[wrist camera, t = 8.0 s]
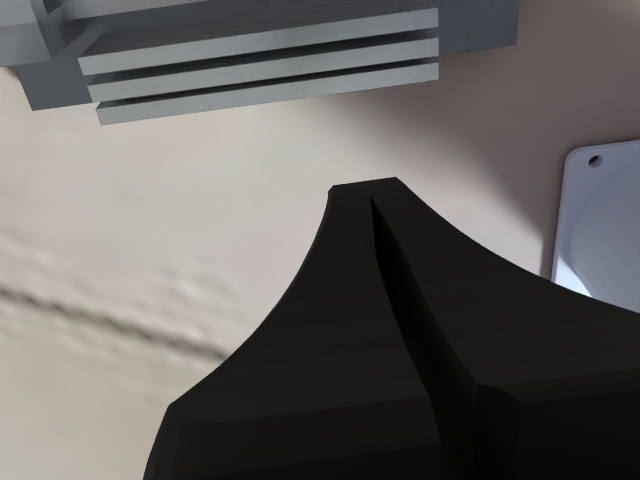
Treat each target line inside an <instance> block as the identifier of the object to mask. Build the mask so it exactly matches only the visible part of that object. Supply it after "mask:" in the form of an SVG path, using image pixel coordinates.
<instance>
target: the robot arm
mask: <svg viewBox="0 0 640 480" xmlns="http://www.w3.org/2000/svg"><path fill="white" fill-rule="evenodd" d="M596 155H598V158H597V160H596V161H595V162H593V163H590V164H589V163H588V162H589V160H590V159H591V158H592V157H593V156H596ZM143 480H640V140H634V141H626V142H619V143H611V144H604V145H596V146H588V147H581V148H577V149H574V150H573V151H571V152H570V153H569V154H568V156H567V157H566V160H565V168H564V176H563V184H562V193H561V201H560V209H559V218H558V226H557V234H556V243H555V251H554V259H553V268H552V276H551V281H549V280H547V279H544V278H542V277H540V276H538V275H535V274H533V273H531V272H529V271H527V270H525V269H523V268H521V267H519V266H517V265H515V264H513V263H512V262H510V261H508V260H506V259H504V258H502V257H501V256H499V255H497V254H495V253H493V252H492V251H490V250H488V249H487V248H485V247H483V246H482V245H480V244H479V243H477V242H476V241H474V240H473V239H471V238H470V237H468V236H467V235H465V234H464V233H462V232H461V231H459V230H458V229H457V228H455V227H454V226H453V225H452V224H450V223H449V222H448V221H446V220H445V219H444V218H443V217H441V216H440V215H439V214H438V213H436V212H435V211H434V210H433V209H432V208H430V207H429V206H428V205H427V204H426V203H425V202H424V201H422V200H421V199H420V198H419V197H418V196H417V195H416V194H415V193H414V192H412V191H411V190H410V189H409V188H408V187H407V186H406V185H405V184H404V183H403V182H402V181H400V180H399V179H398V178H397V177H391V178H384V179H377V180H369V181H362V182H355V183H348V184H340V185H333V186H332V188H331V189H330V190H329V191H328V200H327V205H326V209H325V212H324V215H323V218H322V221H321V224H320V226H319V229H318V231H317V234H316V236H315V239H314V241H313V244H312V246H311V248H310V250H309V252H308V254H307V256H306V257H305V259H304V261H303V263H302V265H301V267H300V269H299V271H298V273H297V274H296V276H295V278H294V279H293V281H292V282H291V284H290V286H289V287H288V289H287V290H286V292H285V293H284V294H283V296H282V297H281V299H280V300H279V302H278V303H277V304H276V306H275V307H274V308H273V309H272V311H271V312H270V313H269V314H268V316H267V317H266V318H265V320H264V321H263V322H262V323H261V324H260V326H259V327H258V328H257V329H256V330H255V331H254V332H253V334H252V335H251V336H250V337H249V338H248V339H247V340H246V341H245V342H244V343H243V344H242V345H241V346H240V347H239V348H238V349H237V350H236V351H235V352H234V353H233V354H232V355H231V356H230V357H229V358H228V359H227V360H225V361H224V362H223V363H222V364H221V365H220V366H219V367H217V368H216V369H215V370H214V371H213V372H211V373H210V374H209V375H208V376H206V377H205V378H204V379H203V380H201V381H200V382H199V383H197V384H196V385H195V386H194V387H192V388H191V389H190V390H188V391H187V392H186V393H185V394H183V395H182V396H181V397H179V398H178V399H177V400H175V401H174V402H172V403H171V404H170V405H169V406H168V408H167V410H166V412H165V415H164V417H163V420H162V423H161V425H160V428H159V430H158V433H157V436H156V439H155V442H154V444H153V447H152V450H151V452H150V455H149V458H148V462H147V465H146V469H145V473H144V477H143Z"/></svg>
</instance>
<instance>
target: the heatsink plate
mask: <svg viewBox="0 0 640 480" xmlns="http://www.w3.org/2000/svg"><path fill="white" fill-rule="evenodd" d="M517 16H518V0H0V67H7V66H14V68H15V70H16V73H17V75H18V77H19V80H20V82H21V85H22V87H23V89H24V92H25V94H26V97H27V99H28V101H29V104H30V106H31V109H32V111H36V110H43V109H50V108H58V107H65V106H72V105H79V104H87V103H95V102H101V103H100V104H99V105H98V107H97V108H96V109H95V110H96V112H97V115H98V118H99V121H100V124H101V125H108V124H115V123H123V122H130V121H138V120H145V119H152V118H160V117H167V116H174V115H182V114H189V113H197V112H204V111H211V110H219V109H226V108H234V107H241V106H248V105H256V104H263V103H270V102H278V101H285V100H293V99H300V98H307V97H315V96H322V95H330V94H337V93H344V92H352V91H359V90H367V89H374V88H381V87H389V86H396V85H403V84H411V83H418V82H426V81H433V80H439V62H438V61H437V59H436V58H435V57H434V56H439V55H445V54H453V53H460V52H467V51H475V50H482V49H489V48H497V47H504V46H511V45H516V33H517Z"/></svg>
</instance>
